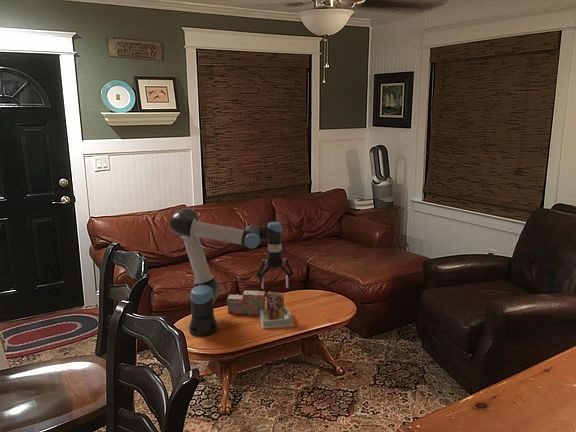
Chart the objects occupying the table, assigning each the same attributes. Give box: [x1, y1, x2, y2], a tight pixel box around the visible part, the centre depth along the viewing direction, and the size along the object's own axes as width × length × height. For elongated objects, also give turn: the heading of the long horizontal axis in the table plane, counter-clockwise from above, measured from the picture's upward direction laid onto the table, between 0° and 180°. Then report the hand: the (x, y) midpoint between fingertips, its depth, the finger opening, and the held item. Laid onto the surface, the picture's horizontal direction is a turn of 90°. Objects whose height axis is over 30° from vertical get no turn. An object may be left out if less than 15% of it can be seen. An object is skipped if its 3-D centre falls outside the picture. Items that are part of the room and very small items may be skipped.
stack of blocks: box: [226, 290, 266, 316], centre depth 290 cm, size 21×6×12 cm, turn 83°
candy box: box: [266, 291, 285, 320], centre depth 277 cm, size 9×4×15 cm, turn 70°
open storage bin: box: [258, 307, 295, 329], centre depth 278 cm, size 17×17×4 cm
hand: (274, 287), depth 274 cm, fingers open, 13 cm apart
